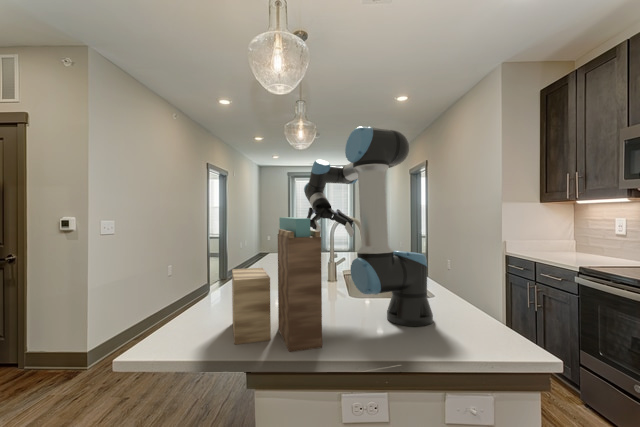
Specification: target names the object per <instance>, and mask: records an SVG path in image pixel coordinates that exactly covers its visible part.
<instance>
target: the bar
mask: <svg viewBox="0 0 640 427" xmlns="http://www.w3.org/2000/svg"><path fill="white" fill-rule="evenodd" d="M310 219H311V218H307V217H293V216H291V217H290V216H289V217H288V216H287V217H280V216H279V220H278V221H279V223H278V224H279V225H278V226H279V229H284V230H288V231H292V232H294V237H310V230H311V227H310Z"/></svg>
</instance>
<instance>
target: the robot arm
mask: <svg viewBox="0 0 640 427" xmlns="http://www.w3.org/2000/svg"><path fill="white" fill-rule="evenodd" d="M344 150H345V151H344V152H345V158H346V160H347V161H348V162H350V163H348V164H346V165H344V166H335V165H334V166H332V165H331V163H330V162H328V161H327V160H323V159H317V160H315V161H314V162H313V165H312V167H311V170H310V176H309V180H308V182H307V183H306V184H305V185H304V188H303V191H304V195H305V197H306V199H307V201H308V202H309V205H310V207H308V212H307V216H306V218H310V228H312V230H315V231H320V235H321V233H322V228H321V226H320V225H319V222H318V221H320V220H321V219H328V220H331V221H335V222H337V223H339V224H340V225H342V226H344V229H345V230H346V232H347V234H348V236H349V237H350V238H353V236H354V233H355V230H354V229H353V228H354V227H353V224H354V220H353V219H352V218H350V217H349V216H347V215H346V214H345V213H343V212H342V211H341V210H340V209H336V210H334V209H332V205H331V203H330V201H329V200H328V198H327V196H326V195H325V193H324V191H325V188H326V184H341V185H343V184H345V185H350V184H351V185H353V184H356V183H357V181H358V198H359V199H358V200H359V219H360V221H359V222H360V241H361V242H360V244H361V247H360V248H359V249H358V250H357V251H356V258H354V259H353V260H352V261H351V264H350V277H351V281H352V284H354V286H355V287H356V289H357V291H359V292H360V293H361V294H363V295H368V296H369V295H378V294H385V293H390V292H391V298H390V300H389V304H388V306H387V309H386V318H387V320H388V321H389V322H392V323H393V324H396V325H400V326H406V327H423V326H424V327H425V326H429V325H431V324H432V323H433V320H434V319H433V318H434V315H433V311H432V307H431V305H430V302H429V299H428V267H429V266H428V264H427V256H426V255H425V254H424V253H419V252H414V251H413V252H412V251H406V250H405V251H404V250H393V249H392V248H391V247H390V246H389V237H388V236H389V234H388V217H387V216H388V215H387V198H386V197H387V196H386V195H387V194H386V178H385V177H386V176H385V175H386V174H385V173H386V171H387V170H388V169H392V168H394V167H396V166H398V165H401V164H403V162H405V160H406V159H407V157H408V156H409V153H410V143H409V141H408V138H407V137H406V136H405V135H404V134H403V133H402V132H400V131H397V130H393V129H385V128H378V127H371V126H358V127H356V128H354V129H353V130H352V131H351V132H350V133H349V136H348V137H347V140H346V144H345V149H344ZM314 214H315V215H314ZM313 215H314V216H313ZM312 216H313V217H312Z"/></svg>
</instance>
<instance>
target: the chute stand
mask: <svg viewBox="0 0 640 427" xmlns="http://www.w3.org/2000/svg"><path fill="white" fill-rule="evenodd" d="M322 281H323V280H322V236H321V234H320V231H315V229H310V237H294V232H292V231H288V230H284V229H280V228H279V229H278V234H277V297H278V298H277V299H278V301H277V304H278V305H277V310H278V311H277V314H278V318H277V322H278V323H277V324H278V332H279V333H280V336H281V338H282V340H283V342H284V344H285V346H286V349H287V350H288V352H289V353H293V352H300V351H307V350H314V349H315V350H316V349H322V348H323V312H322V311H323V308H322V307H323V306H322V305H323V301H322V299H323V296H322V291H323V290H322V286H323V284H322V283H323V282H322Z"/></svg>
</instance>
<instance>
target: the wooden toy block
mask: <svg viewBox="0 0 640 427" xmlns="http://www.w3.org/2000/svg"><path fill="white" fill-rule="evenodd" d="M231 286H232V287H231V288H232V290H231V292H232V296H231V297H232V298H231V299H232V300H231V301H232V302H231V304H232V331H233V340H234V345H243V344H244V345H245V344H249V343H250V344H251V343H257V342H258V343H260V342H266V341H271V340H272V339H271V336H272V334H271V331H272V330H271V321H272V320H271V277H270V276H269V274H268V273H267V271H265V269H264V267H252V268H251V267H250V268H248V267H247V268H232V269H231Z"/></svg>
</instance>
